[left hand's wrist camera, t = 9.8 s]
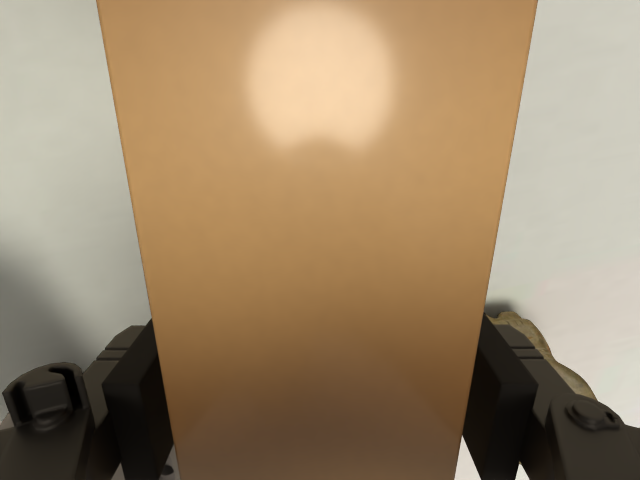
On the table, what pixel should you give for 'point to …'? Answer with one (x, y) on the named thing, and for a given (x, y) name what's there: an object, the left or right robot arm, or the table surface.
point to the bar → (317, 221)
